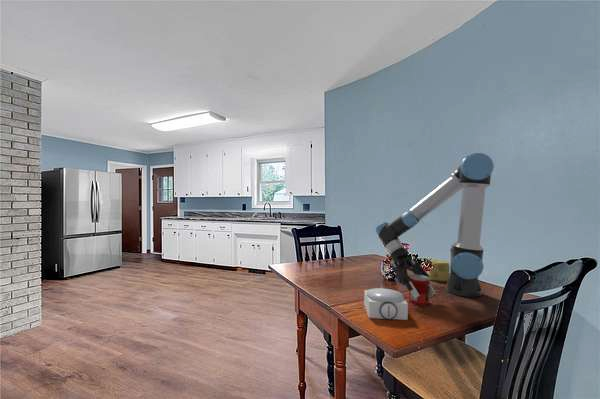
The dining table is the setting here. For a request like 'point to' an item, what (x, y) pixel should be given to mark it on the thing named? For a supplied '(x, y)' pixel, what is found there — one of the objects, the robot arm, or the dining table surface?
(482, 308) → the dining table surface
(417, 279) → the canned food
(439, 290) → the dining table surface
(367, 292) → the kitchen scale
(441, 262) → the cheese
